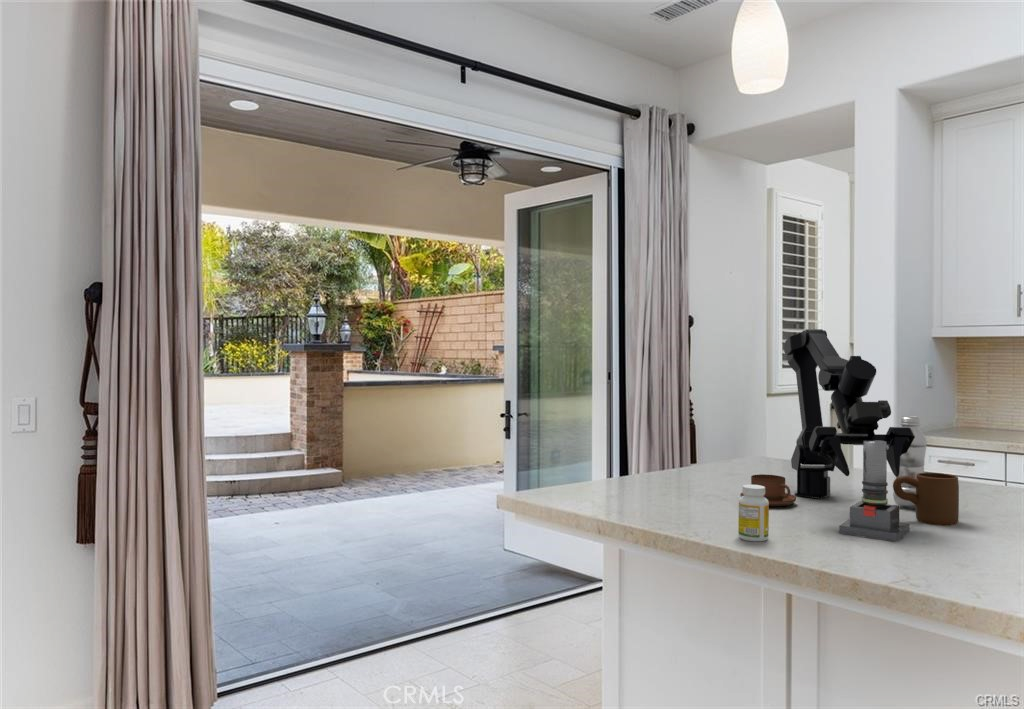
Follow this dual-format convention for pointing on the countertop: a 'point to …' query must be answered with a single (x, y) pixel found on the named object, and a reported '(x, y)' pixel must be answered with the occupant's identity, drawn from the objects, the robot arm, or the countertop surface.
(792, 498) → the cup and saucer
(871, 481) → the grey ridged cylinder
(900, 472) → the plastic bottle
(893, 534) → the stand sleeve
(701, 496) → the countertop surface
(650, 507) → the countertop surface
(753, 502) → the supplement bottle
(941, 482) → the mug
